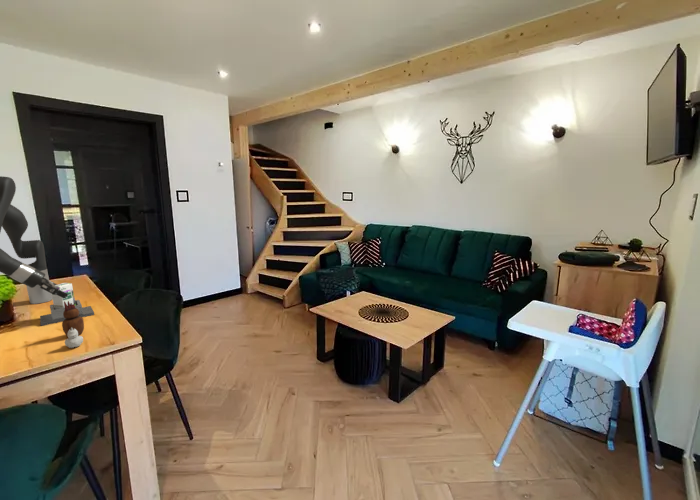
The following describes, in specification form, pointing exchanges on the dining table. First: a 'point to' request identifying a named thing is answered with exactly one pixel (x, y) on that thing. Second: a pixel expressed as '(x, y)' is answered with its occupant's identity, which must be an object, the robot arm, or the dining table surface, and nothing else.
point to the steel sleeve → (58, 314)
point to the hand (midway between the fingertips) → (65, 294)
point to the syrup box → (59, 300)
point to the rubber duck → (73, 339)
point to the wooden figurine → (72, 319)
